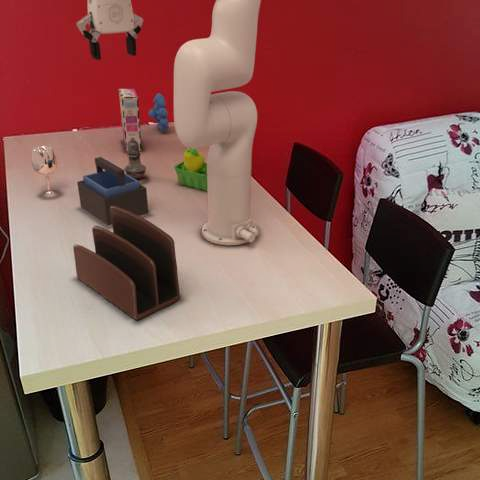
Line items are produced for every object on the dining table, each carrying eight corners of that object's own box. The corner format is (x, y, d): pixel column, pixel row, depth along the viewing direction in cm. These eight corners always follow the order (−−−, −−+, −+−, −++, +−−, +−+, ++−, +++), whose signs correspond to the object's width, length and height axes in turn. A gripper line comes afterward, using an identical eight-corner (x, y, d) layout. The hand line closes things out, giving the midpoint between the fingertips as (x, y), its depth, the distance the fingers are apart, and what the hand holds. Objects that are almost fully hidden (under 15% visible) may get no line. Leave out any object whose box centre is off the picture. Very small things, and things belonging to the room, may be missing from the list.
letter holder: (120, 261, 119) (112, 198, 112) (180, 300, 108) (177, 233, 101) (76, 279, 113) (65, 213, 106) (136, 322, 102) (128, 252, 94)
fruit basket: (224, 184, 156) (224, 144, 150) (206, 195, 149) (205, 153, 144) (189, 176, 161) (187, 136, 155) (170, 186, 154) (168, 145, 148)
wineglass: (66, 192, 148) (59, 146, 142) (53, 200, 143) (45, 154, 137) (46, 189, 149) (38, 144, 143) (33, 197, 145) (24, 151, 138)
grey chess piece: (135, 186, 153) (131, 142, 147) (120, 180, 156) (115, 137, 150) (151, 180, 157) (148, 137, 151) (137, 174, 160) (133, 132, 154)
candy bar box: (143, 151, 176) (138, 96, 168) (126, 152, 175) (120, 97, 166) (139, 139, 185) (134, 87, 177) (123, 140, 184) (117, 88, 175)
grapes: (146, 126, 197) (143, 90, 191) (165, 125, 200) (163, 89, 193) (152, 136, 188) (150, 99, 182) (173, 135, 190) (171, 98, 184)
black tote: (148, 215, 138) (146, 187, 135) (108, 227, 132) (104, 199, 128) (120, 197, 146) (117, 171, 143) (81, 208, 140) (77, 181, 136)
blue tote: (142, 212, 138) (137, 166, 132) (109, 222, 133) (103, 175, 127) (118, 198, 145) (113, 153, 139) (87, 207, 140) (80, 161, 134)
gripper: (79, -18, 127) (89, 63, 136) (147, -20, 137) (152, 55, 146) (64, -21, 131) (74, 58, 140) (130, -23, 142) (136, 50, 151)
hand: (114, 56), depth 143 cm, fingers open, 9 cm apart
